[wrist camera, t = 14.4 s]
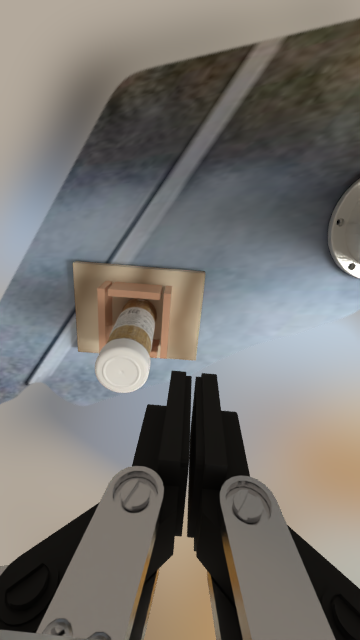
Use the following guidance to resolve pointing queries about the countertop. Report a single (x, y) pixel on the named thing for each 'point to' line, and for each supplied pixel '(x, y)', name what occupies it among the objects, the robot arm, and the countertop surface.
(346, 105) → the countertop surface
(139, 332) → the sprinkles bottle
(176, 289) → the stand board
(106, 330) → the collar
